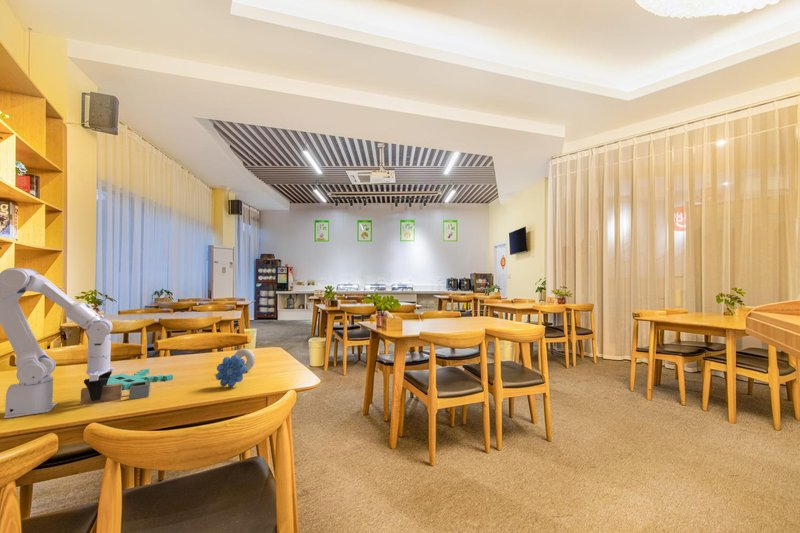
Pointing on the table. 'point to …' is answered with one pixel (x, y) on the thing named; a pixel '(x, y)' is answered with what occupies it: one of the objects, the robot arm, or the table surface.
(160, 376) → the alien figure
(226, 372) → the blue bumpy cluster
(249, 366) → the donut
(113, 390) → the slat
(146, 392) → the end cap
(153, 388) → the table surface
